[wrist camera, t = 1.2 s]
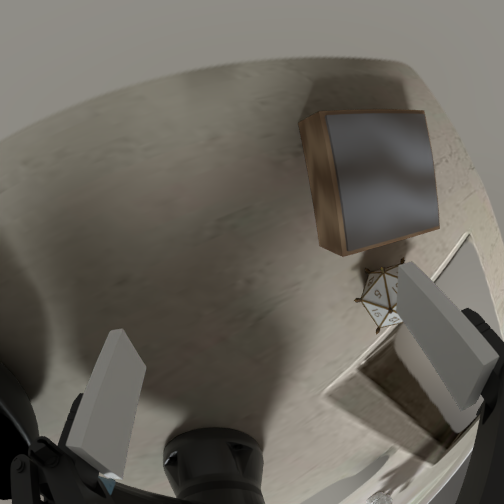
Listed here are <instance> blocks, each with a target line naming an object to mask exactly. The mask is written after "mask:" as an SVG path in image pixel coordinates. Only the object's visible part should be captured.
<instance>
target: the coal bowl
mask: <svg viewBox="0 0 504 504" xmlns="http://www.w3.org/2000/svg"><path fill="white" fill-rule="evenodd" d="M38 437H39V430H38V424H37V420H36V416H35V413H34V410H33V408H32V405H31V403H30V401H29V399H28V397H27V395H26V393H25V391H24V389H23V388H22V386H21V385H20V383H19V382H18V381H17V379H16V378H15V377H14V375H13V374H12V373H11V372H10V371H9V370H8V369H7V368H6V367H5V366H4V365H3V364H2V363H1V362H0V499H1V500H8V499H12V495H11V463H12V461H13V459H14V458H15V457H16V456H18V455H20V454H24V455H26V456H27V457H29V456H28V450H29V446H30V444H31V443H32V441H33V440H35V439H36V438H38ZM29 458H30V457H29ZM30 459H31V458H30ZM31 460H33V459H31Z"/></svg>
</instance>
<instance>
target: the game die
mask: <svg viewBox="0 0 504 504" xmlns="http://www.w3.org/2000/svg"><path fill="white" fill-rule="evenodd" d="M404 261H405V260H404V257H403V258H402V259H401V261H400V262H401V263H400V264H398V265H401V264H403V263H404ZM398 265H394V266H391V267H387V268H383V267H381V268H380V270H377V271H373V272H370V270H369V269H366V268H365V271H366V273H368V274H369V275H368V278H367V281H366V284H365V287H364V290H363V293H362V296H361V298H356V299H355V300H354V301H355V302H357V303H358V302H360V301H361V302H362V304H363V305H364V306H363V307H365V308H366V310H367V311H368V313H369V314H370V316H371V317H372V319H373V320H374V322H375V323H376V325H377V326H378V328H377V329H376V335H377V334H378V333H379V331H380V328H382V327H387V326H391V325H395V324H399V323H403V321H402V319H401V318H400V316H399V315H398V314H397V312H396V307H397V291H398Z"/></svg>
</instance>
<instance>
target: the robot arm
mask: <svg viewBox="0 0 504 504" xmlns="http://www.w3.org/2000/svg"><path fill="white" fill-rule="evenodd" d="M396 312H397V314H398V315H399V316H400V318H401V319H402V321H403V322H404V324H405V325H406V326H407V328H408V329H409V330H410V332H411V334H412V335H413V336H414V338H415V339H416V341H417V342H418V344H419V345H420V347H421V348H422V350H423V351H424V353H425V354H426V356H427V357H428V359H429V360H430V362H431V363H432V365H433V367H434V368H435V370H436V371H437V373H438V374H439V376H440V378H441V379H442V381H443V382H444V384H445V386H446V387H447V389H448V391H449V392H450V394H451V395H452V397H453V399H454V400H455V402H456V404H457V406H458V407H459V409H460V411H463V410H465V409H466V408H468V407H470V406H472V405H473V404H475V403H476V402H477V400H478V398H479V396H480V395H482V397H483V398H484V401H483V403H482V404H481V406H480V408H479V409H478V411H477V414H476V415H479V414H480V412H481V415H480V420H479V425H478V430H477V435H476V439H475V443H474V447H473V451H472V455H471V459H470V462H469V466H468V469H467V472H466V476H465V479H464V482H463V485H462V488H461V491H460V493H459V496H458V499H457V501H456V504H504V342H503V341H502V340H501V339H500V337H499V336H498V335H497V334H496V333H495V332H494V331H493V330H492V329H491V328H490V326H489V325H488V324H487V323H485V321H484V320H483V318H482V317H481V316H480V315H479V314H478V313H476V312H474V311H472V310H471V309H469V308H466V309H464V310H461V311H460V310H459V309H458V308H457V306H456V305H455V304H454V303H453V302H452V301H451V300H450V299H449V298H448V297H447V296H446V295H445V294H444V293H443V292H442V291H441V290H440V289H439V288H438V286H437V285H436V284H435V283H434V282H433V281H432V280H431V279H430V278H429V277H428V276H427V275H426V274H425V273H424V272H423V271H422V270H421V269H420V268H418V267H417V266H416V265H415V264H414V263H413V262H412V261H411V262H408V263H405V264H401V265H398V291H397V307H396ZM146 368H147V367H146V365H145V364H144V362H143V361H142V359H141V358H140V356H139V354H138V353H137V351H136V350H135V348H134V346H133V345H132V343H131V341H130V340H129V338H128V336H127V335H126V333H125V331H124V329H116V330H110V332H109V334H108V336H107V339H106V341H105V343H104V345H103V348H102V350H101V352H100V355H99V357H98V359H97V362H96V364H95V367H94V369H93V372H92V374H91V376H90V379H89V381H88V384H87V387H86V389H85V392H84V393H80V394H79V395H78V397H77V398H76V399H75V400H74V402H73V404H72V407H71V409H70V413H69V415H68V417H67V421H66V423H65V426H64V428H63V431H62V434H61V437H60V440H59V443H58V446H57V445H55V444H54V443H53V442H52V441H51V440H50V439H48V438H47V437H45V436H40V437H38V438H36V439H35V440H33V441H32V443H31V444H30V446H29V450H28V456H29V457H30V458H31V459H33V460H31V459H30V458H29V457H27V456H26V455H24V454H20V455H18V456H16V457H15V458H14V459H13V461H12V463H11V495H12V504H265V502H264V499H263V496H262V493H261V482H262V473H263V464H264V461H263V455H262V452H261V449H260V447H259V445H258V443H257V442H256V441H255V440H254V439H253V438H252V437H250V436H249V435H247V434H245V433H242V432H240V431H236V430H232V429H226V428H204V429H198V430H193V431H190V432H187V433H184V434H182V435H179V436H178V437H176V438H174V439H173V440H172V441H171V442H170V443H169V444H168V445H167V446H166V448H165V450H164V453H163V467H164V471H165V474H166V476H167V478H168V480H169V483H170V485H171V487H172V489H173V491H174V493H175V495H176V498H173V497H169V496H164V495H160V494H156V493H152V492H148V491H144V490H141V489H137V488H134V487H130V486H127V485H124V484H121V483H118V482H115V480H114V479H123V474H124V468H125V463H126V457H127V452H128V447H129V442H130V437H131V432H132V428H133V423H134V418H135V414H136V409H137V405H138V401H139V397H140V392H141V388H142V384H143V380H144V376H145V372H146ZM99 472H100V473H102V474H103V475H104V476H106V477H107V478H108V479H107V478H104V477H101V476H99ZM112 478H114V479H112ZM40 495H42V496H44V501H42V500H41V498H40Z"/></svg>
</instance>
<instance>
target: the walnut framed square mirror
mask: <svg viewBox="0 0 504 504" xmlns="http://www.w3.org/2000/svg"><path fill="white" fill-rule="evenodd" d="M298 125H299V130H300V135H301V140H302V145H303V150H304V155H305V160H306V166H307V171H308V177H309V182H310V188H311V194H312V200H313V206H314V212H315V219H316V225H317V232H318V239H319V246H320V247H323V248H325V249H327V250H329V251H331V252H333V253H336V254H338V255H340V256H342V257H344V256H348V255H351V254H355V253H358V252H362V251H366V250H369V249H373V248H376V247H380V246H383V245H387V244H390V243H393V242H397V241H400V240H404V239H407V238H410V237H414V236H417V235H420V234H424V233H427V232H430V231H434V230H437V229H440V225H439V209H438V197H437V187H436V178H435V170H434V162H433V156H432V149H431V143H430V138H429V132H428V127H427V122H426V117H425V113H424V111H423V110H397V109H361V110H334V111H319V112H317V113H315V114H313V115H311V116H309V117H308V118H306V119H304V120H302V121H300V122H299V123H298Z"/></svg>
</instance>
